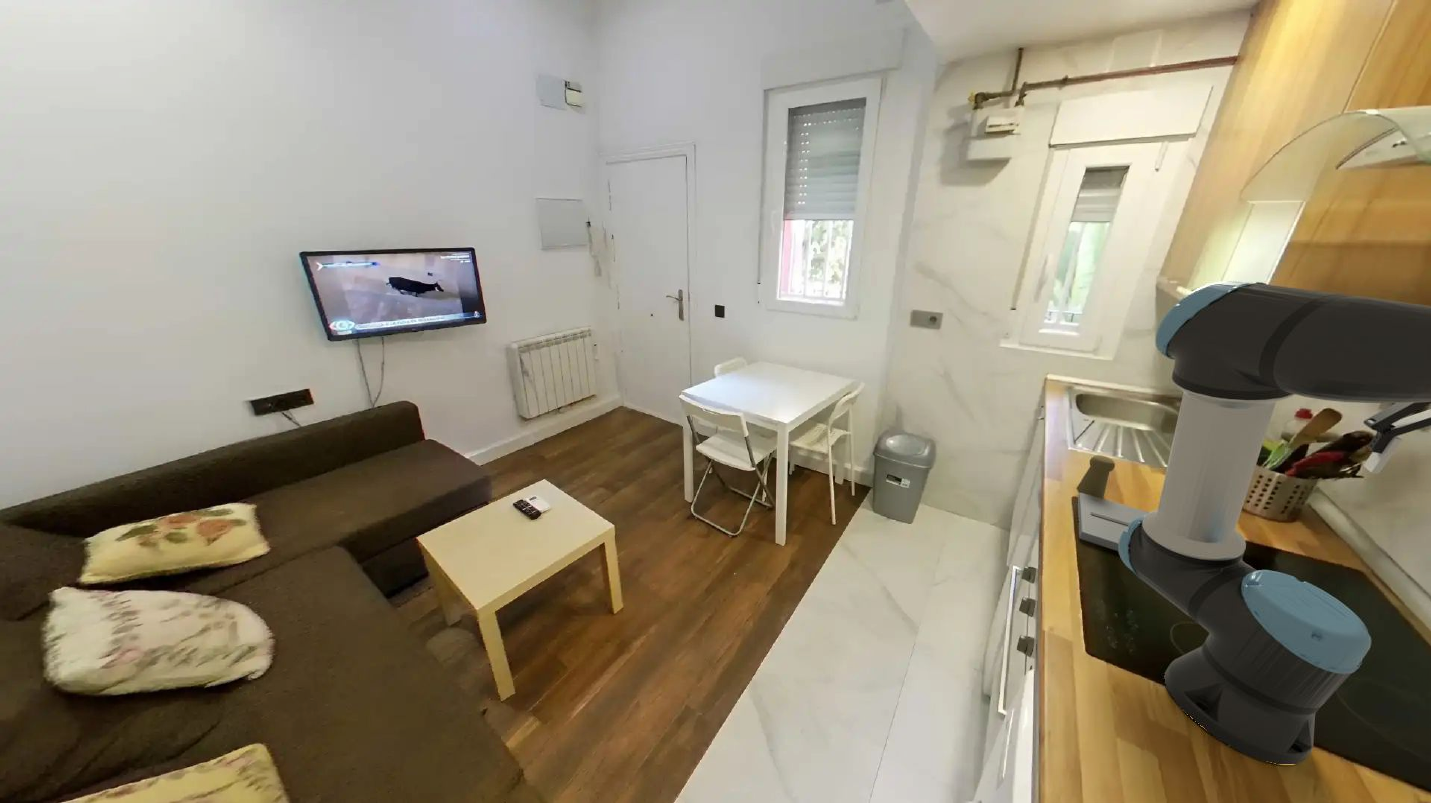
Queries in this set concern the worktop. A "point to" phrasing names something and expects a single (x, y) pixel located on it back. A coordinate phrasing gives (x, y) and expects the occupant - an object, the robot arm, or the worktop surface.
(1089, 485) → the cork
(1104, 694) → the worktop surface
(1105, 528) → the console
